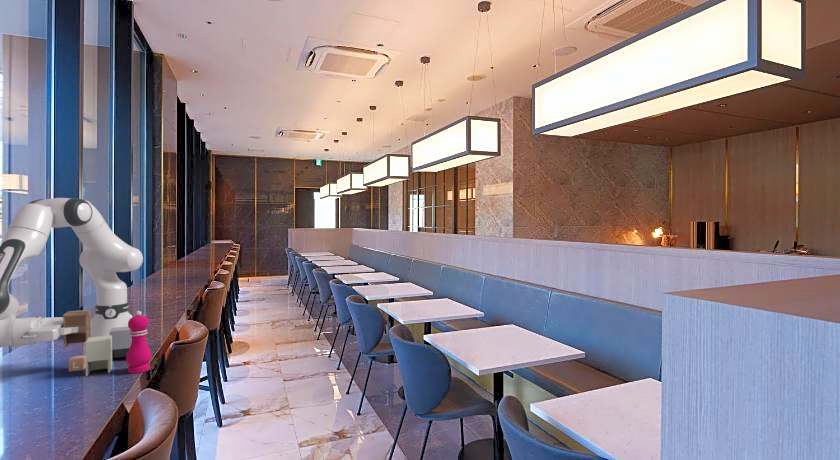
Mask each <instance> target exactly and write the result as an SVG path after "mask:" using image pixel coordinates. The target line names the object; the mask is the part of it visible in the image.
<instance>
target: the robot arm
mask: <svg viewBox="0 0 840 460" xmlns="http://www.w3.org/2000/svg"><path fill="white" fill-rule="evenodd" d="M67 227H71V229H72V230H73V232H74V233H75V235H76V236H77V238H78V240H80V243H82V245H83V246H84V247H85V249H84V250H83V251H81V253H80V254H79V259H78V261H79V265H80V267H81V268H82V269H84V270H85V271H86V272H87V274H89V275H90V277H91V279H92V281H93V283H94V285H95V297H96V304H95V307H94V311H95V313H94V316H93V317H92V318H91V337H100V336H110V334H109V332H110V330H111V328H117V327H128V321H129V320H130V319H131V318H132V317H133V315H132V314H131V313H130V312H129V310H130V309H129V307H130V306H129V302H128V286H127V284H126V282H124V281H123V280H121V279H120V278H119V277H118V275H117V273H128V272H131V271H136V270H138V269H140V268H141V266H142V265H143V262H144V257H143V256H144V255H143V253H142V251H141V250H140V249H138V248H136V247H133V246H131V245H129V243H127V242H125V241H123V239H121V238H120V237H119V236H117V235H116V234H115V233H114V232H113V231H112V229H111V228H110V226H109V224H108V223H107V222H106V220H105V218H104V217H103V216H102V214H101V212H100V211H99V210H98V209H97V208H96V207H95V206H94V205H93V203H91V202H90V201H89V200H87V199H82V198H78V197H72V198H70V197H69V198H68V197H56V198H55V197H54V198H46V199H43V198H41V199H40V198H39V199H36V200H32V201H30V202H29V203H26V204H24V205H22V206H21V207H20V208H19V209H18V211H17V212H16V214H15V215H14V216H13V218H12V220H11V222H10V223H9V226H8V228H7V230H6V232H5V235H4V237H3V239H2V242H1V244H0V348H3V347H24V346H33V345H35V344H36V343H40V342H41V343H43V342H54V341H57V340H58V339H59V338H60V337H61V336H64V335H65V334H69V333H76V332H78V331H79V327H78V326H74V327H68V328H63V316H62V317H61V316H60V317H59V316H58V317H57V316H55V317H54V316H53V317H51V316H50V317H42V316H33V317H32V316H31V317H21V318H18V314H19V311H20V303H19V301H18V299H17V298H16V297H15V296H14V295H12V294H11V293H10V291H9V284H10V281H11V280H12V278H13V276H14V274H15V272H16V269H17V268H18V266H19V264H20V263H21V262H22V261H23V260H28V259H32V258H35V257H37V256H39V255H40V254H41V252H42V251H43V249H45V246H46V244H47V242H48V240H49V236H50V233H51V231H52V228H53V229H55V228H56V229H59V228H67Z"/></svg>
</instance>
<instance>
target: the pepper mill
mask: <svg viewBox="0 0 840 460" xmlns="http://www.w3.org/2000/svg"><path fill="white" fill-rule="evenodd" d="M142 313H143V312H142V311H141V310H137V311H135V315H134V316H132V318H131V319H130V320H129V321H128V327H129V329H131V331H130V336H131V338H132V341H131V346H130V349H129V351H128V353H127V356H126V357H125V361H126V364H128V367H127V373H128V374H133V375H135V374H141V373H145V372H148V371H150V370H151V363H149V362H150V361H151V360H152V358H153V357H152V352H151V350H150V348H149V345H148V342H147V334H148V329H147V328H148V327H149V325H150V320H149V318H148V317H147V316H146V315H143V314H142Z"/></svg>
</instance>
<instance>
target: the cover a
mask: <svg viewBox="0 0 840 460" xmlns="http://www.w3.org/2000/svg"><path fill="white" fill-rule="evenodd" d="M62 317H63V328H68V327H74V326H78V327H79V331H78V332H76V333H69V334H65V335H63V349H67V347H68V346H69V345H71V344H80V343H85V342H86V341H87V339H88V338H90V337H91V319H92V318H91V309H83V310H70V311H65V313H64V314H63V315H62Z"/></svg>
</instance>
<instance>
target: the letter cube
mask: <svg viewBox="0 0 840 460" xmlns="http://www.w3.org/2000/svg"><path fill="white" fill-rule="evenodd" d="M85 369H86V354H85V355H75V356H73V355H72V356H70V357H69V359H68V372H76V371H84V370H85Z"/></svg>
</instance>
